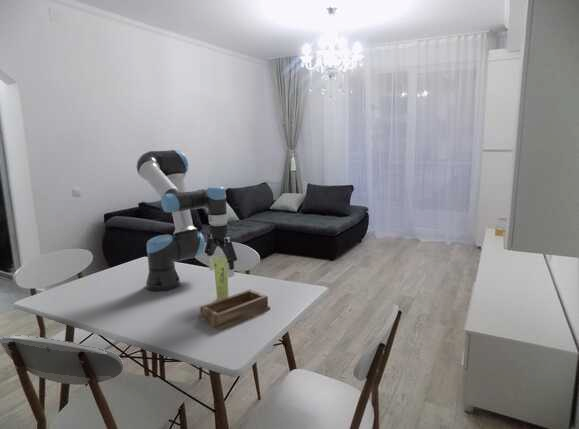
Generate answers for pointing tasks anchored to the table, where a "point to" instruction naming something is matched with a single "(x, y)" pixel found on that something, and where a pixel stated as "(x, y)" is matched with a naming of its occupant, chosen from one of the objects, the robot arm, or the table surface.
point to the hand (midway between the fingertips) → (221, 273)
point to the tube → (221, 276)
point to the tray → (234, 309)
